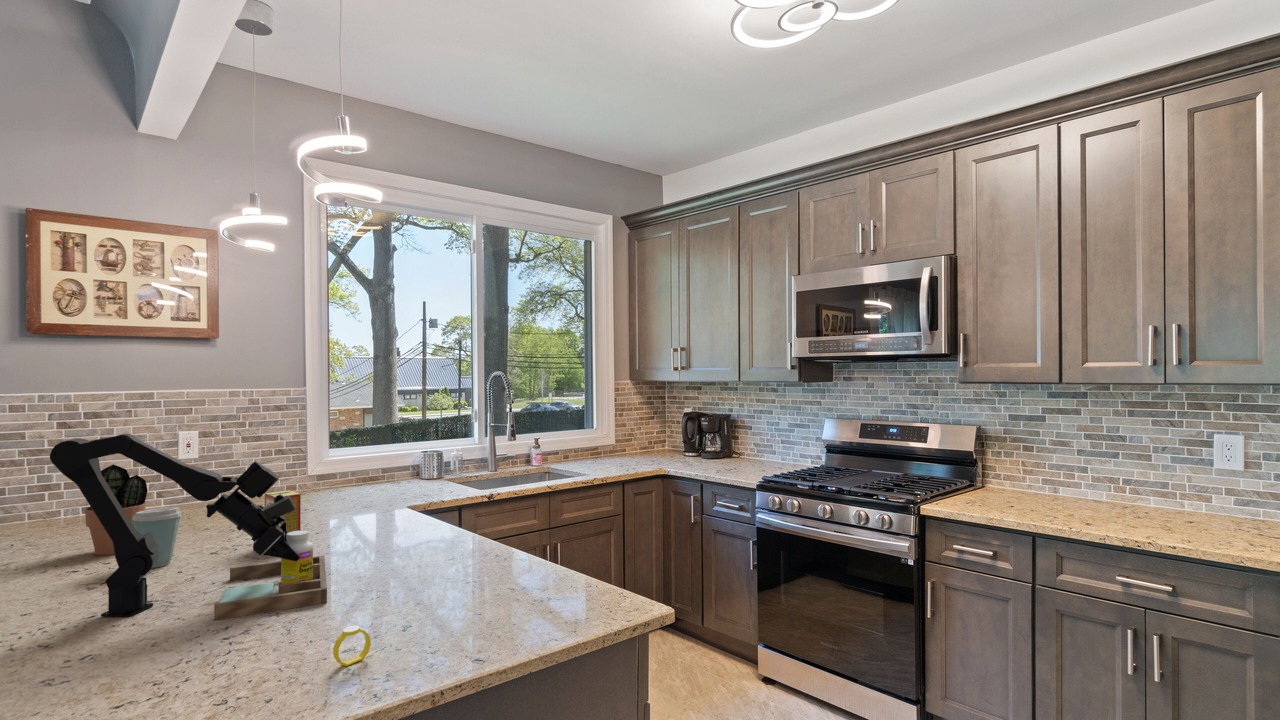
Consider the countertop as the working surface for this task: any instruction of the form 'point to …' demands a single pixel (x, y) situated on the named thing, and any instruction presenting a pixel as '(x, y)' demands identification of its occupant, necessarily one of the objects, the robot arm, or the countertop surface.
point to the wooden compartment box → (270, 591)
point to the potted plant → (128, 496)
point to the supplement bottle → (304, 565)
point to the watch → (348, 632)
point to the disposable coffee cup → (160, 530)
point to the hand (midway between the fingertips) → (298, 554)
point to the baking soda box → (293, 516)
